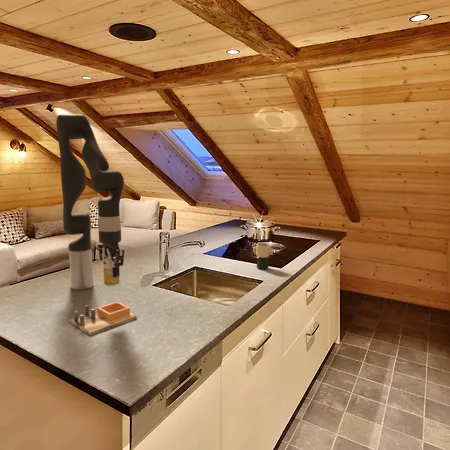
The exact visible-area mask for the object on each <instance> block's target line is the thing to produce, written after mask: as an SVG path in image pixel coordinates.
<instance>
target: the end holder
mask: <svg viewBox="0 0 450 450" xmlns="http://www.w3.org/2000/svg"><path fill="white" fill-rule="evenodd" d="M116 309H118V311H115V312H112V313H109V311H112V310H116ZM96 311H98V315H100V316H101V317H103V318H105V319H107V320H108V321H112V320H115V319H118V318H120V317H123V316H126V315H129V314H130V313H131V309H130V307H129V306H127V305H126V304H123V303H121V302H120V301H115V302H112V303H108V304H106V305H102V306H100V307H97V309H96Z"/></svg>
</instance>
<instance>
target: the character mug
mask: <svg viewBox="0 0 450 450" xmlns="http://www.w3.org/2000/svg"><path fill="white" fill-rule="evenodd" d="M252 251H253V253H255V255H256V256H257V257H258V258H257V261H256V262H257V263H256V268H258V269H262V270H263V269H264V270H265V269H268V268H269V259H268V257H270V255H271V256H272V255H273V254H274V249H273V248H271V244H270V243H269V242H268V243H266V242H257V243H256V246H253V250H252Z"/></svg>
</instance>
